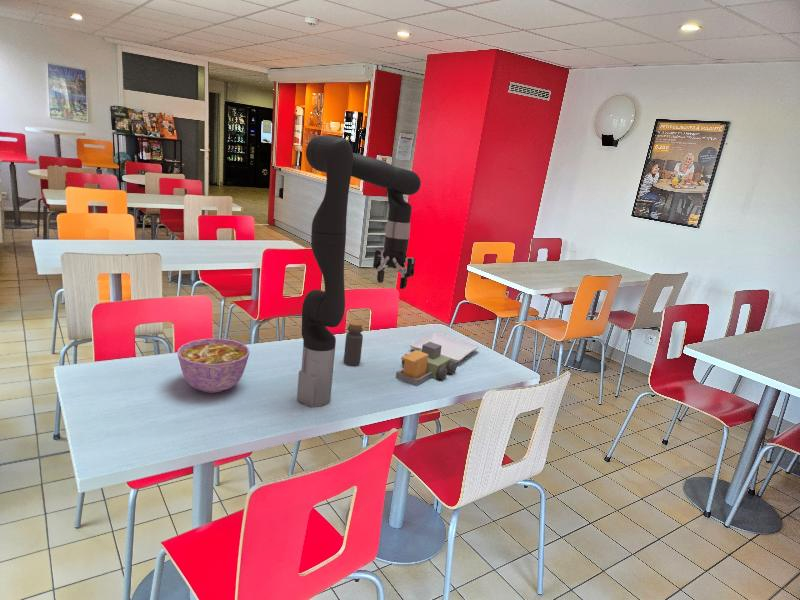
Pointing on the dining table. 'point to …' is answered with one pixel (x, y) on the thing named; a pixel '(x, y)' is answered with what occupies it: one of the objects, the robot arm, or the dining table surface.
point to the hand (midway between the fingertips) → (391, 285)
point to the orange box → (415, 364)
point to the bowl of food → (213, 363)
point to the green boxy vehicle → (431, 365)
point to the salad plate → (447, 346)
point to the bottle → (353, 344)
